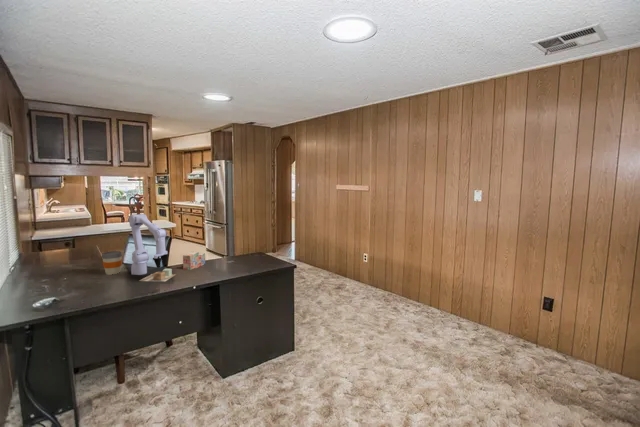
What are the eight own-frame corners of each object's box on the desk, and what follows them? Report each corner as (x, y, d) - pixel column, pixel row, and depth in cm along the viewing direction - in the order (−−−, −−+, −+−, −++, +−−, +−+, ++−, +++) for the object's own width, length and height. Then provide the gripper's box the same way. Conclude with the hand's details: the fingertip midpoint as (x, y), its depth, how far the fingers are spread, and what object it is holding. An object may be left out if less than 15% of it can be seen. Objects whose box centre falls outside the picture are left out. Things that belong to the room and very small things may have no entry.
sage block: (162, 276, 227) (162, 270, 226) (165, 274, 231) (165, 268, 230) (168, 276, 226) (168, 270, 226) (171, 274, 231) (171, 268, 230)
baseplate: (138, 282, 216) (138, 280, 216) (151, 275, 232) (151, 273, 232) (165, 282, 216) (165, 281, 216) (176, 275, 232) (176, 274, 232)
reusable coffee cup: (124, 269, 244) (123, 250, 243) (120, 274, 232) (119, 254, 231) (105, 271, 240) (104, 251, 239) (100, 276, 229) (98, 255, 227)
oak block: (153, 280, 217) (153, 273, 217) (157, 277, 222) (157, 271, 222) (161, 280, 217) (161, 274, 217) (165, 278, 222) (164, 271, 222)
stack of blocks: (198, 263, 266) (198, 249, 264) (205, 264, 264) (205, 249, 263) (183, 270, 245) (182, 255, 243) (190, 271, 244) (190, 255, 242)
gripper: (160, 249, 213) (161, 269, 214) (171, 244, 227) (172, 263, 229) (150, 249, 213) (151, 268, 214) (161, 244, 227) (162, 263, 229)
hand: (161, 266), depth 222 cm, fingers open, 7 cm apart
